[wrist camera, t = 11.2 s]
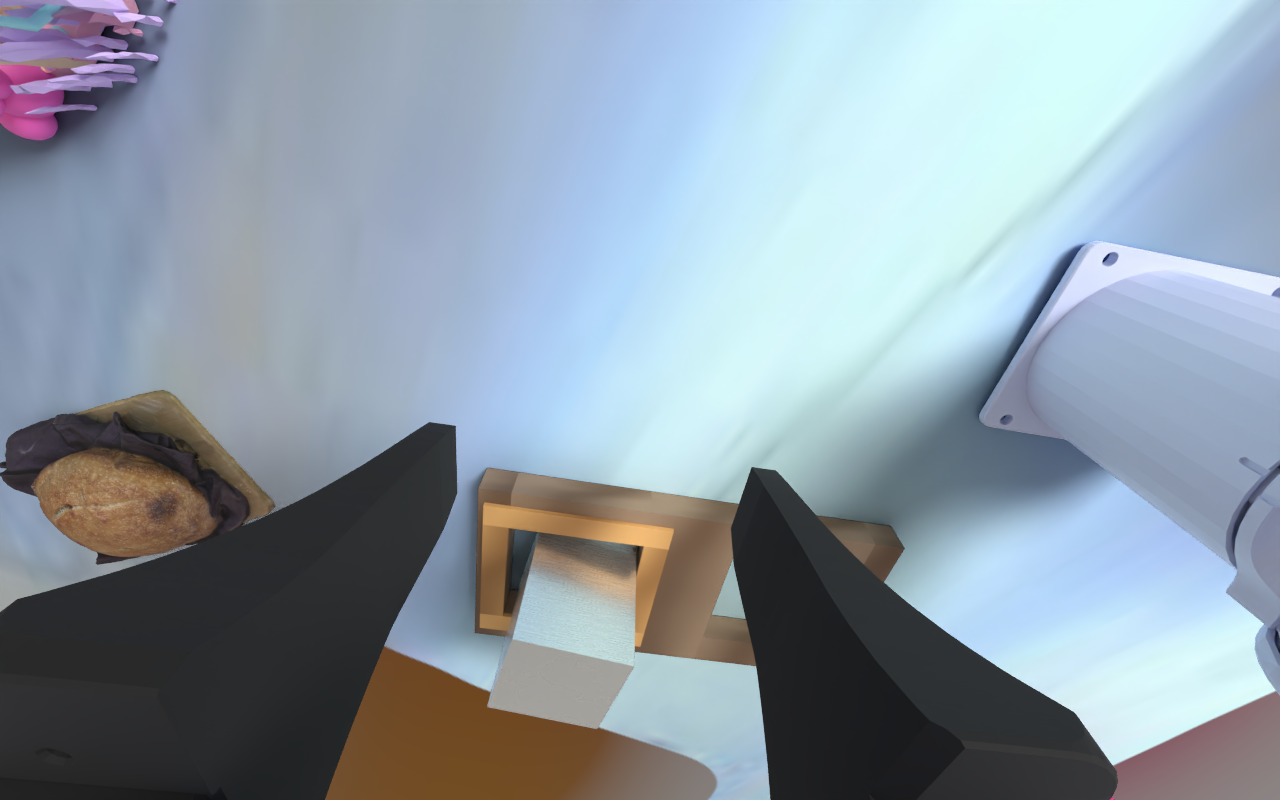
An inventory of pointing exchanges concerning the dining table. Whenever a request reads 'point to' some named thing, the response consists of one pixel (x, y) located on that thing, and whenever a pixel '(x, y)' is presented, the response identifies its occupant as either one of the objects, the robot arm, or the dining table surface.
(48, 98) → the candy landscape model
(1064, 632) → the dining table surface
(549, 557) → the light grey block
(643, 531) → the wooden board with holes
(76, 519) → the bread roll
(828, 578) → the robot arm
